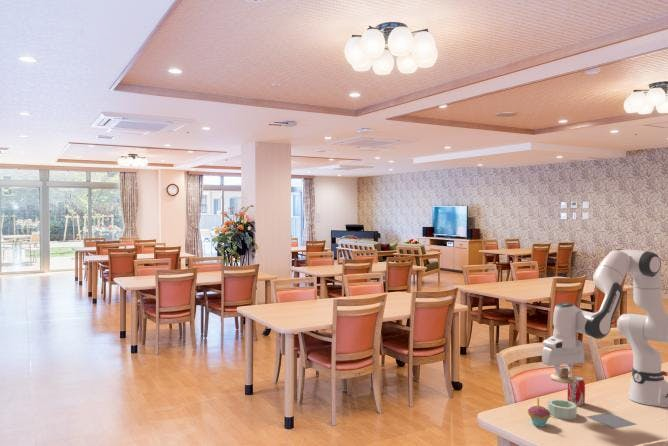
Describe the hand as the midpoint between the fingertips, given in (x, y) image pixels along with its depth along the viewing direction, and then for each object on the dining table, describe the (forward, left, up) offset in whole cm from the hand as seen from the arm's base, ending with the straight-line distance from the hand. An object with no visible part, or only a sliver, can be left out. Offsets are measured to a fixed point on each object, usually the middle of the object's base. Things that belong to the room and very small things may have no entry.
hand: (563, 374), depth 219 cm
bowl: (0, 0, -18) cm, 18 cm away
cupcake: (+16, +4, -18) cm, 24 cm away
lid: (0, 0, -2) cm, 2 cm away
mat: (-14, +12, -18) cm, 25 cm away
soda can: (-16, -8, -18) cm, 25 cm away
